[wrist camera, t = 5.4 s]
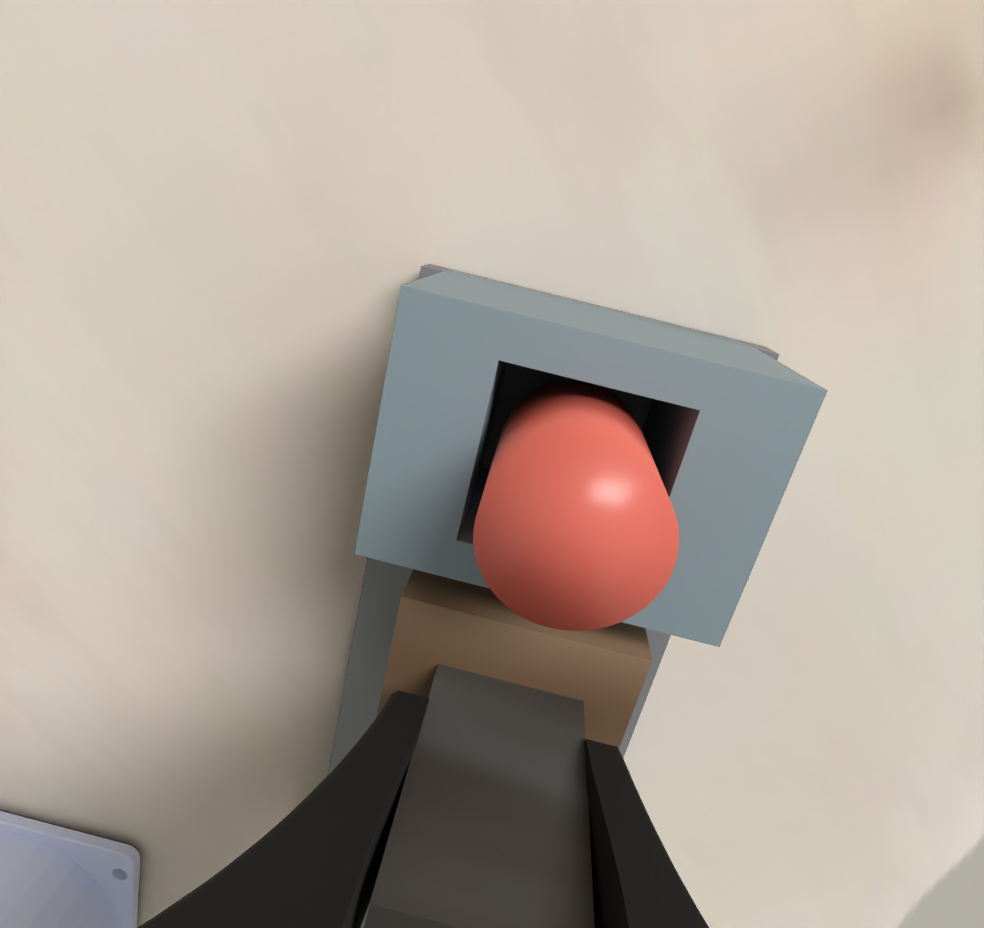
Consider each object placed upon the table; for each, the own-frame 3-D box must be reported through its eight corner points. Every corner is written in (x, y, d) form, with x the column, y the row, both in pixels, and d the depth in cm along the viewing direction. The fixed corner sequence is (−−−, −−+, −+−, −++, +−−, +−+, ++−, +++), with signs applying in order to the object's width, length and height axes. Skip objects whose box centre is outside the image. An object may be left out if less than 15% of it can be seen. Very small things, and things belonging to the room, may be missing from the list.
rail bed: (518, 1000, 23) (507, 1193, 19) (302, 943, 23) (237, 1120, 19) (766, 346, 15) (858, 398, 10) (430, 263, 15) (371, 277, 11)
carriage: (579, 759, 17) (592, 1143, 10) (389, 710, 17) (265, 1055, 10) (637, 594, 15) (707, 915, 8) (426, 540, 15) (307, 810, 8)
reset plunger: (619, 531, 13) (643, 651, 9) (485, 498, 13) (454, 603, 9) (663, 401, 12) (708, 475, 8) (517, 364, 12) (498, 423, 9)
